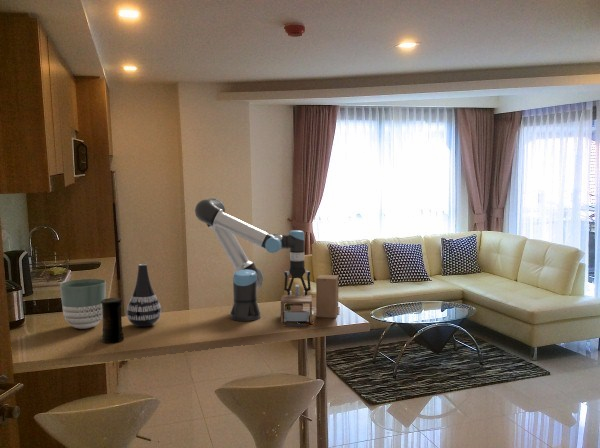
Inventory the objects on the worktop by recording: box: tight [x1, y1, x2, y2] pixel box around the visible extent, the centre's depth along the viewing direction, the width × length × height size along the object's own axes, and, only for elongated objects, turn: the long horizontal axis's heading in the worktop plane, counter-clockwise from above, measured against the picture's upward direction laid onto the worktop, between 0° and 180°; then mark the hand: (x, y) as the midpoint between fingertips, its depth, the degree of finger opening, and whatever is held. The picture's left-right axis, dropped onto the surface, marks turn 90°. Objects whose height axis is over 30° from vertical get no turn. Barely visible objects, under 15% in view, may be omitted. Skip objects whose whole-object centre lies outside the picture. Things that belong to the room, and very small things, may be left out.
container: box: [101, 297, 124, 345], centre depth 223 cm, size 9×9×18 cm
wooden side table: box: [280, 294, 313, 324], centre depth 257 cm, size 14×15×10 cm
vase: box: [126, 263, 162, 329], centre depth 246 cm, size 16×16×30 cm
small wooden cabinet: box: [283, 284, 310, 323], centre depth 262 cm, size 23×12×14 cm, turn 179°
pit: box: [285, 322, 308, 328], centre depth 246 cm, size 5×10×1 cm, turn 89°
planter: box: [59, 278, 107, 330], centre depth 244 cm, size 20×20×21 cm
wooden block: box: [315, 274, 339, 319], centre depth 263 cm, size 10×10×20 cm
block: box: [290, 304, 304, 312], centre depth 257 cm, size 6×6×8 cm
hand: (297, 303), depth 271 cm, fingers open, 6 cm apart
